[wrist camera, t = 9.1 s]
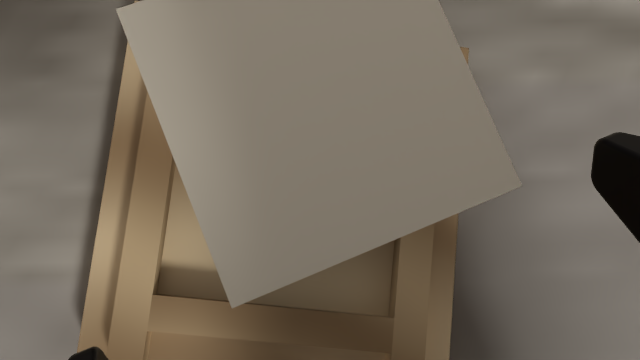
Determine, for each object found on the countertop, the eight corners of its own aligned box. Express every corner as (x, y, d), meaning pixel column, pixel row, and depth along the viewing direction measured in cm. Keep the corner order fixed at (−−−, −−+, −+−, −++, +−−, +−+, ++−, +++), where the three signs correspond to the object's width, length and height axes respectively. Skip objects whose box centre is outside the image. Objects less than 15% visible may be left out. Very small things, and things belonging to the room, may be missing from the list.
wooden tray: (435, 382, 19) (456, 395, 17) (88, 351, 18) (67, 361, 16) (456, 60, 21) (477, 39, 19) (141, 16, 20) (129, -12, 18)
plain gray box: (379, 231, 18) (522, 186, 9) (244, 287, 18) (231, 308, 8) (324, 100, 19) (400, -83, 9) (191, 150, 18) (115, 8, 8)
